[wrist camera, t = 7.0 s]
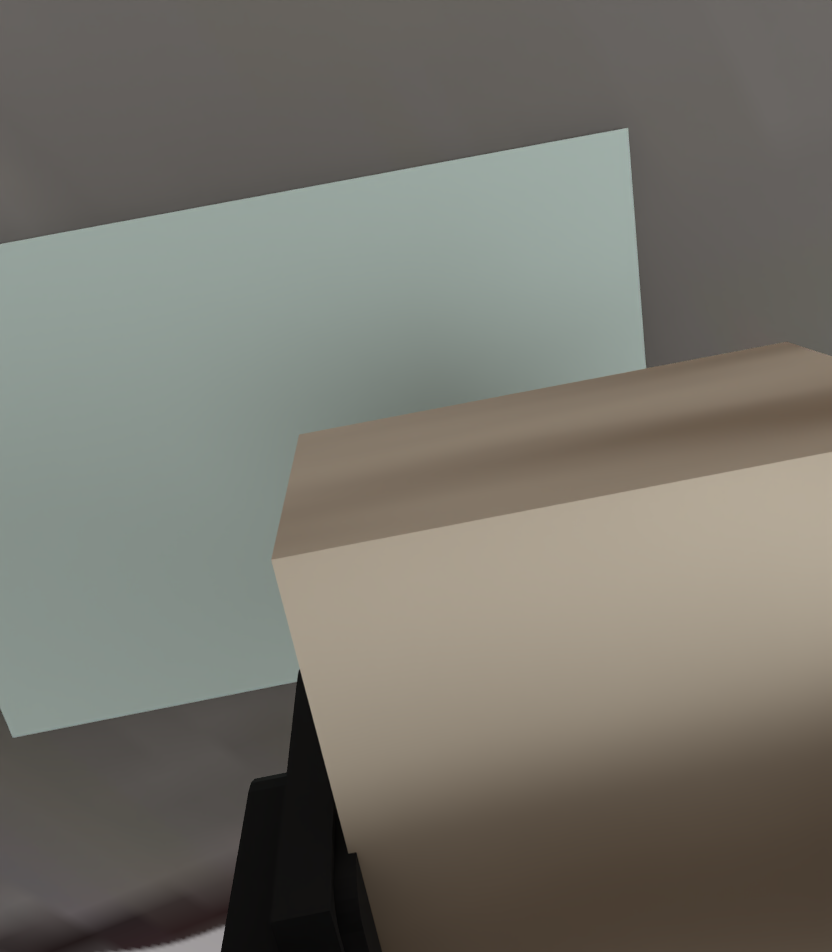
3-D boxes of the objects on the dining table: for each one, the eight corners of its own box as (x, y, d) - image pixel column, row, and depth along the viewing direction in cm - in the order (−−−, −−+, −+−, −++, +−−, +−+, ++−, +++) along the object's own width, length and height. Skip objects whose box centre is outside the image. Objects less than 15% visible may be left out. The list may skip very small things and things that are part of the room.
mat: (17, 730, 26) (12, 737, 26) (-173, 276, 21) (-183, 277, 21) (659, 603, 27) (664, 609, 26) (623, 129, 22) (627, 128, 21)
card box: (299, 435, 9) (270, 560, 6) (786, 341, 10) (1017, 416, 6) (424, 969, 12) (451, 1245, 9) (793, 894, 13) (950, 1141, 9)
